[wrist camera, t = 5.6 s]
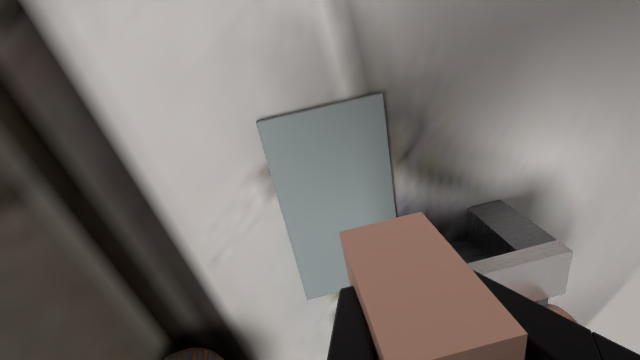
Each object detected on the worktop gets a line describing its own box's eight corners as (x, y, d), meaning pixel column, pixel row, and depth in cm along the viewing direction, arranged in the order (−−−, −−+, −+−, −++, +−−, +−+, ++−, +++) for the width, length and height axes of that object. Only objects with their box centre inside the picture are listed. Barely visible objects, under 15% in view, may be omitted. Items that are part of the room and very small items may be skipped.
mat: (400, 271, 23) (402, 275, 23) (306, 295, 23) (307, 299, 23) (380, 92, 18) (382, 93, 17) (256, 121, 17) (256, 123, 17)
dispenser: (495, 286, 25) (598, 400, 17) (398, 312, 25) (458, 440, 17) (500, 199, 22) (631, 292, 14) (388, 227, 22) (457, 340, 14)
